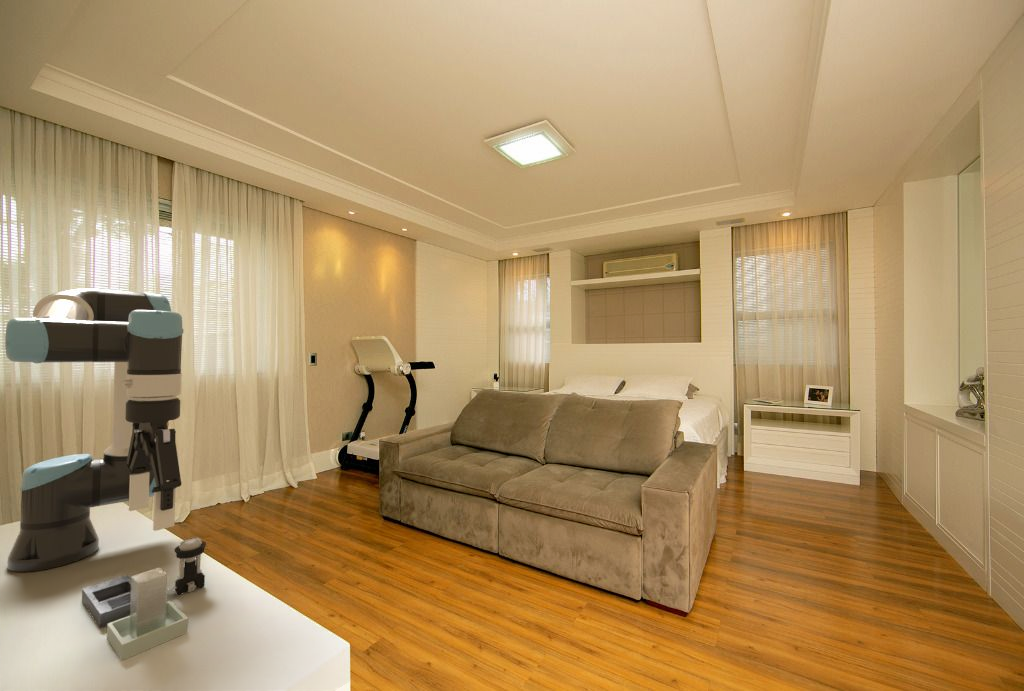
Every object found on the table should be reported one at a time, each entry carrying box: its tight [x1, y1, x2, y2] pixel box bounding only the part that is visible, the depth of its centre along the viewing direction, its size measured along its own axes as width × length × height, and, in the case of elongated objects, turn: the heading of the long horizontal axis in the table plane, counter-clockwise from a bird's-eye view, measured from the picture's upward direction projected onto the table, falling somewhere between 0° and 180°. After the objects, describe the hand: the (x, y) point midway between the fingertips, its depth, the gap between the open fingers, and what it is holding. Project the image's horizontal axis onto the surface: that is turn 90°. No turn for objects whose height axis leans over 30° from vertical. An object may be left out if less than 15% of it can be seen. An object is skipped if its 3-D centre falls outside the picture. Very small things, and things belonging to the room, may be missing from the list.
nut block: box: [130, 567, 168, 639], centre depth 78 cm, size 4×4×10 cm
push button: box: [166, 537, 207, 597], centre depth 92 cm, size 7×5×10 cm
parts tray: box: [106, 600, 189, 661], centre depth 78 cm, size 9×9×2 cm
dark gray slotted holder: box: [81, 574, 131, 629], centre depth 86 cm, size 14×7×3 cm, turn 54°
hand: (150, 518), depth 78 cm, fingers open, 13 cm apart
